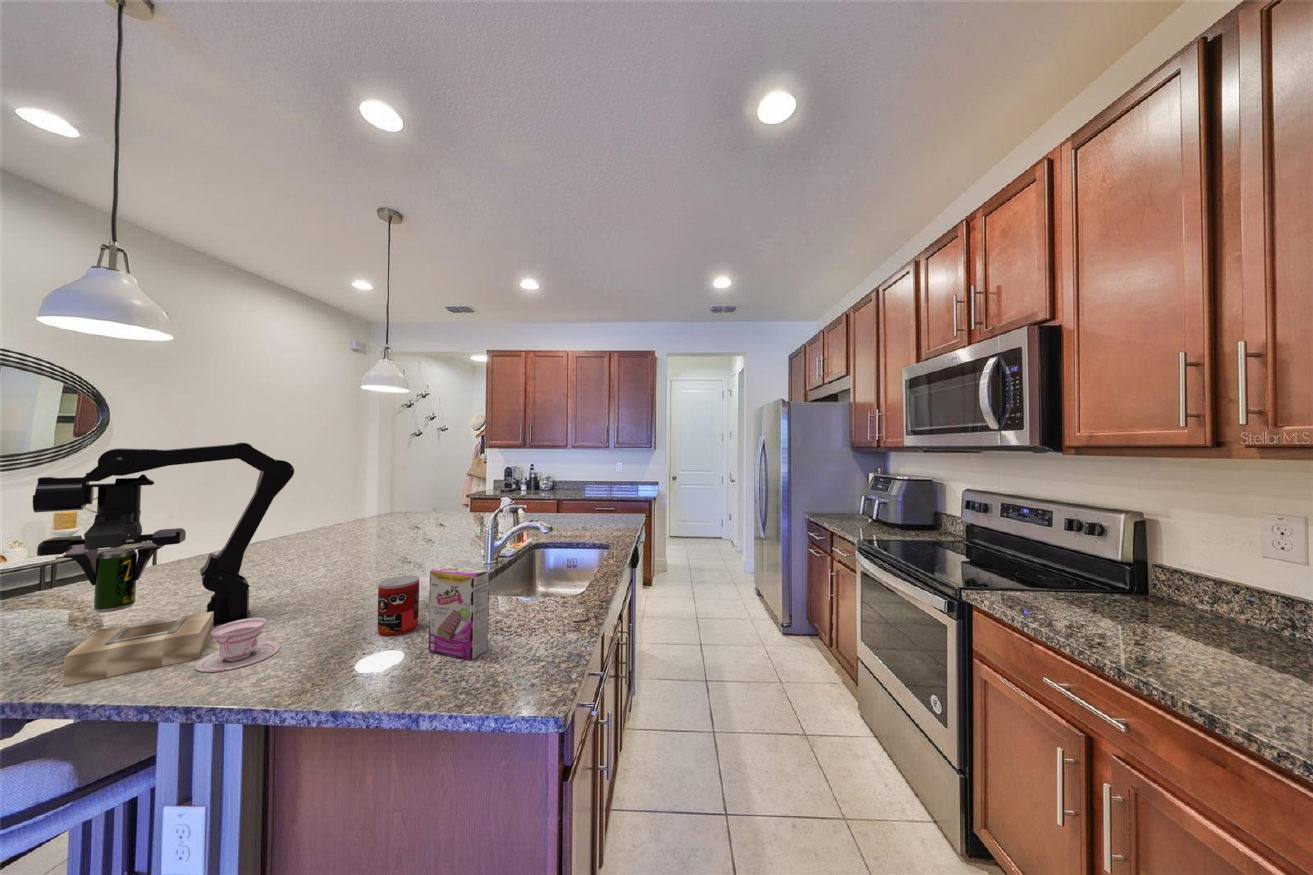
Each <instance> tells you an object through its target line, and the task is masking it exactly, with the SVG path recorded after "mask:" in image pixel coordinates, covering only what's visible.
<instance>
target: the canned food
mask: <svg viewBox="0 0 1313 875" xmlns="http://www.w3.org/2000/svg"><path fill="white" fill-rule="evenodd" d="M377 588H378V590H377V591H378V592H377V594H378V595H377V632H378V634H379V635H380V636H383V637H394V636H400V635H404V634H407V633H409V632H411V631H414V630H415V629H416V628H417V627H418V624H419V614H420V613H419V612H420V610H419V609H420V606H419V605H420V603H419V602H420V578H419V576H415V575H400V576H394V577H389V578H386V579H383V580H381V581H379V583H378V587H377Z"/></svg>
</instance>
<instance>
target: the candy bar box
mask: <svg viewBox="0 0 1313 875" xmlns="http://www.w3.org/2000/svg"><path fill="white" fill-rule="evenodd" d="M428 606H429V608H428V609H429V611H428V612H429V613H428V614H429V616H428V623H429V624H428V652H429V653H433V654H439V655H443V656H448V657H453V658H458V659H463V660H467V661H474V660H476V659H477V658H478V657H480V656H482V655H483V654H485V653H487V652H489V620H490V618H489V609H490V570H487V569H481V568H480V569H479V568H472V567H465V566H458V565H448V564H447V565H443V566H441V567H437V568H434V569H432V570H430V571H429V605H428Z"/></svg>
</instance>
